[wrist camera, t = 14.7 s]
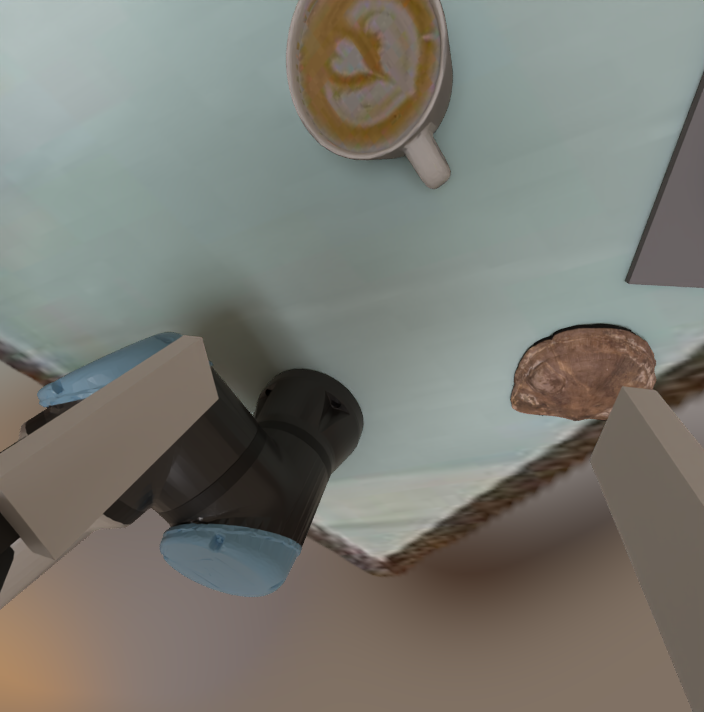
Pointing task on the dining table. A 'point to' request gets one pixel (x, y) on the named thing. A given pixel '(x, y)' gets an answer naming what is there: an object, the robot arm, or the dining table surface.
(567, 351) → the shell
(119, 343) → the dining table surface
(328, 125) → the coffee mug
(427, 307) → the dining table surface
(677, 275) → the mat
